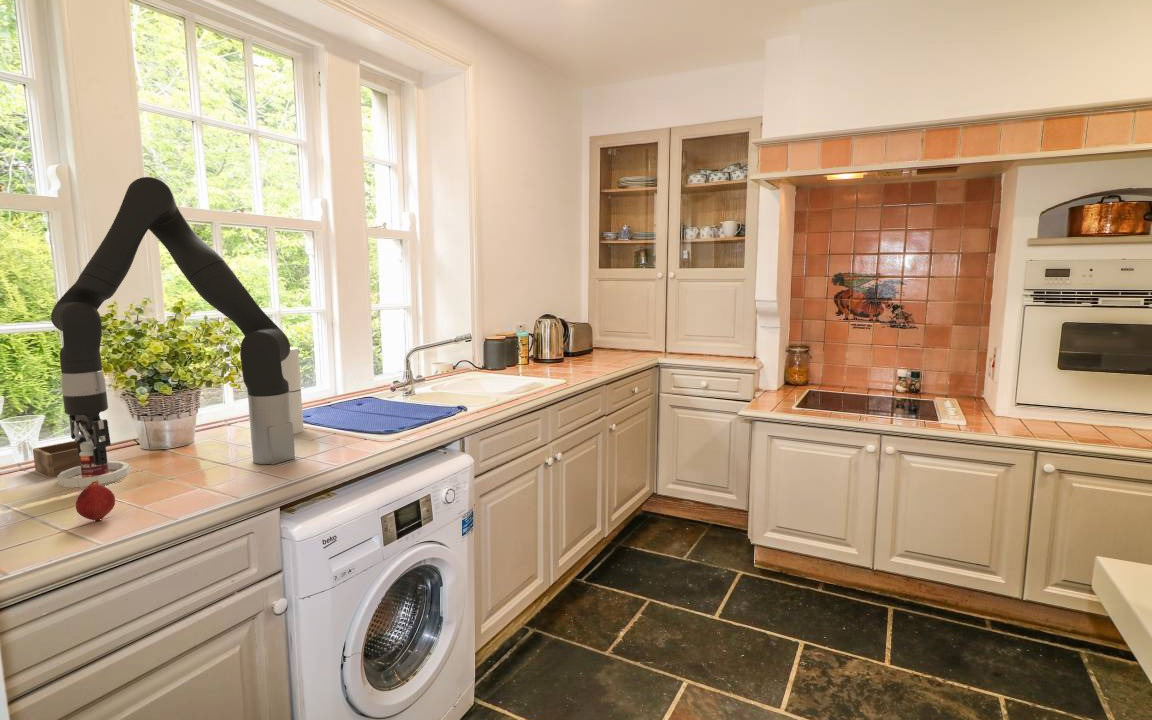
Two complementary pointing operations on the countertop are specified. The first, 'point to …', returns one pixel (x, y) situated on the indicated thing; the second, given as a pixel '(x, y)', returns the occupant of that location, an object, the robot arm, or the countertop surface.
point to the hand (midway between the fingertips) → (93, 461)
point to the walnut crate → (56, 458)
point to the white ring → (67, 481)
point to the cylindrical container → (294, 388)
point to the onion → (95, 501)
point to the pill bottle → (90, 462)
